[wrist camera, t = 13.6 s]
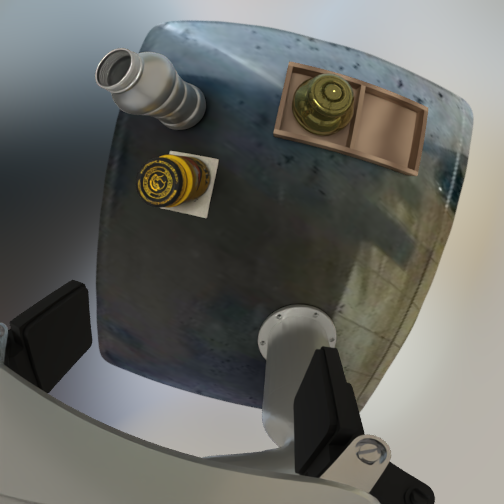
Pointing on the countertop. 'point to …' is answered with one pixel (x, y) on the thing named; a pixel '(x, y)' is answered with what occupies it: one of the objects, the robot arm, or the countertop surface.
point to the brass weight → (323, 105)
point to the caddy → (362, 123)
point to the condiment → (178, 182)
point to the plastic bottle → (150, 88)
